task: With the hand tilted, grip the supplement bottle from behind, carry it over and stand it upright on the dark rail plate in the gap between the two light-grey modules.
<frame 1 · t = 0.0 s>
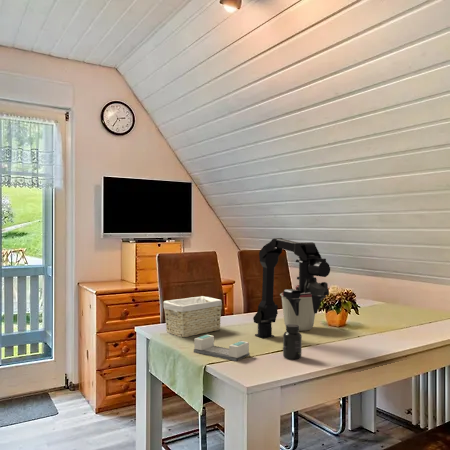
hand: (306, 314, 168), 15 cm above the table, tool pointing down, fingers open, 9 cm apart
module pair: (221, 345, 166), on the rail plate, point 3 cm above the table
canister: (299, 329, 208), on the table
storage basket: (192, 332, 202), on the table
rail plate: (221, 353, 166), on the table
supplement bottle: (292, 358, 161), on the table
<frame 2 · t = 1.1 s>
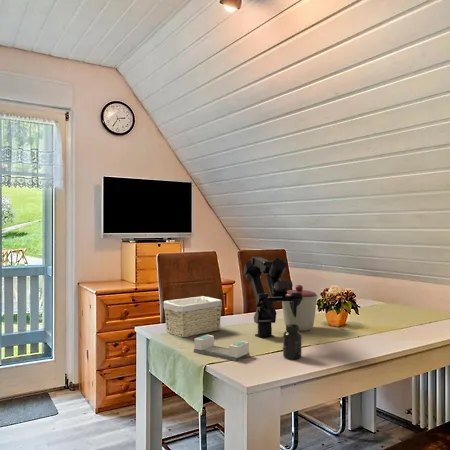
hand: (284, 317, 169), 13 cm above the table, tool tilted 45°, fingers open, 9 cm apart
nothing on the table moved.
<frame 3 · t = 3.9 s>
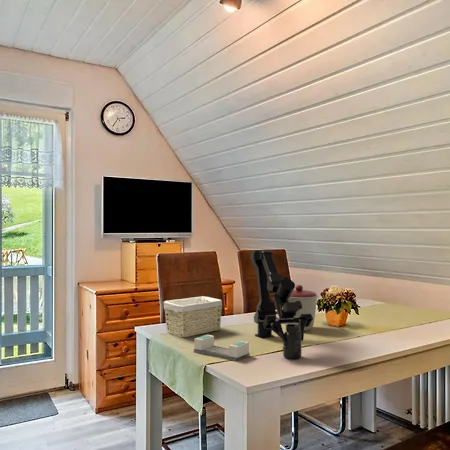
hand: (293, 340, 160), 7 cm above the table, tool tilted 45°, fingers closed on supplement bottle, 7 cm apart
supplement bottle: (292, 357, 161), on the table, touching gripper
everything else where it was.
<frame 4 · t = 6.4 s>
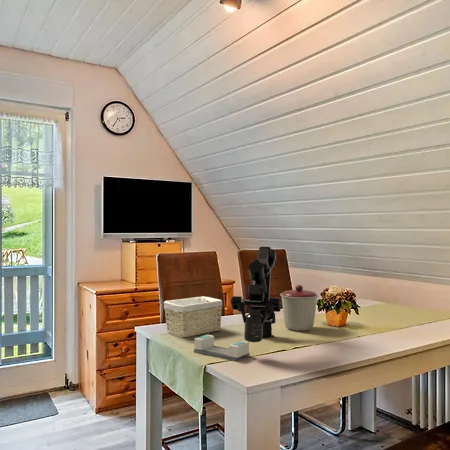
hand: (253, 322, 160), 13 cm above the table, tool tilted 45°, fingers closed on supplement bottle, 7 cm apart
supplement bottle: (253, 340, 161), point 6 cm above the table, touching gripper
everything else where it was.
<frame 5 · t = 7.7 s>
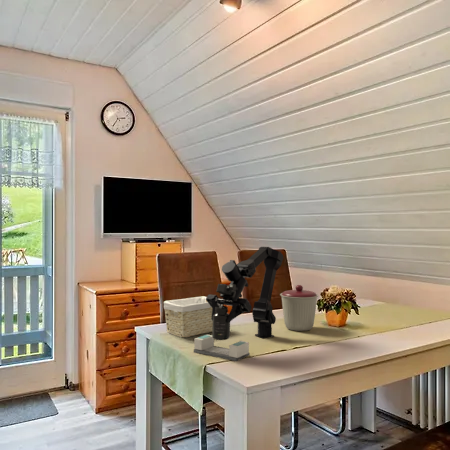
hand: (219, 321, 165), 13 cm above the table, tool tilted 45°, fingers closed on supplement bottle, 7 cm apart
supplement bottle: (220, 338, 166), point 6 cm above the table, touching gripper
everything else where it was.
when the fingers open (9 cm above the table, at t = 9.1 s): supplement bottle stays where it is, resting on rail plate.
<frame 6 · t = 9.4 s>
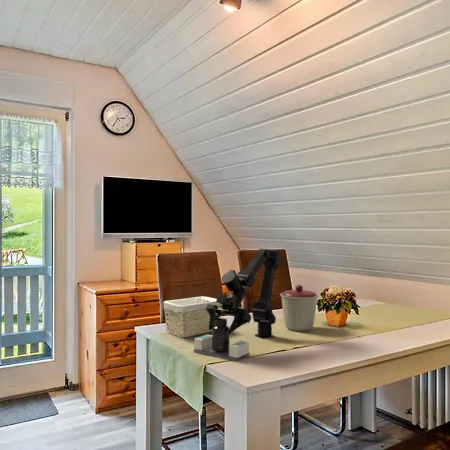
hand: (219, 331, 165), 9 cm above the table, tool tilted 45°, fingers open, 9 cm apart
supplement bottle: (220, 351, 166), point 1 cm above the table, touching rail plate
everything else where it was.
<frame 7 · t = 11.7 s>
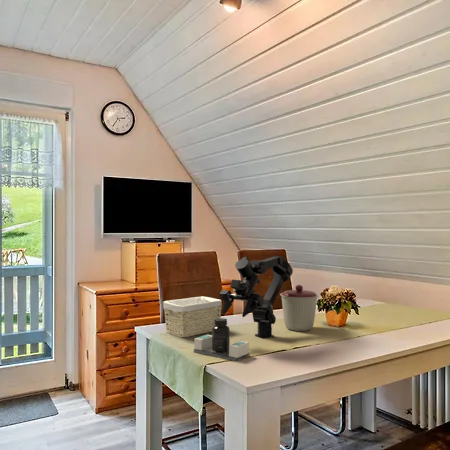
hand: (233, 315, 172), 14 cm above the table, tool tilted 45°, fingers open, 9 cm apart
nothing on the table moved.
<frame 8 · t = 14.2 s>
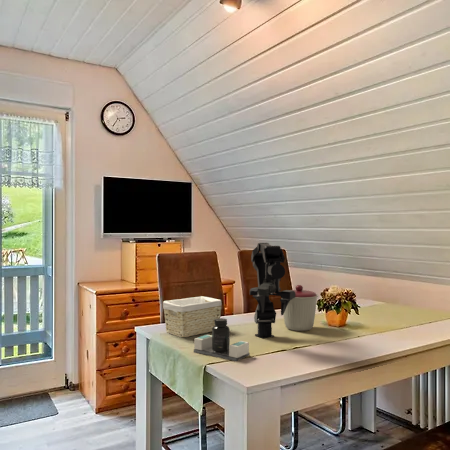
hand: (272, 313, 178), 13 cm above the table, tool pointing down, fingers open, 9 cm apart
nothing on the table moved.
at the end: supplement bottle 0.4 cm from the rail plate (horizontally); supplement bottle point 0.9 cm above the table; supplement bottle tilted 0° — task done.
